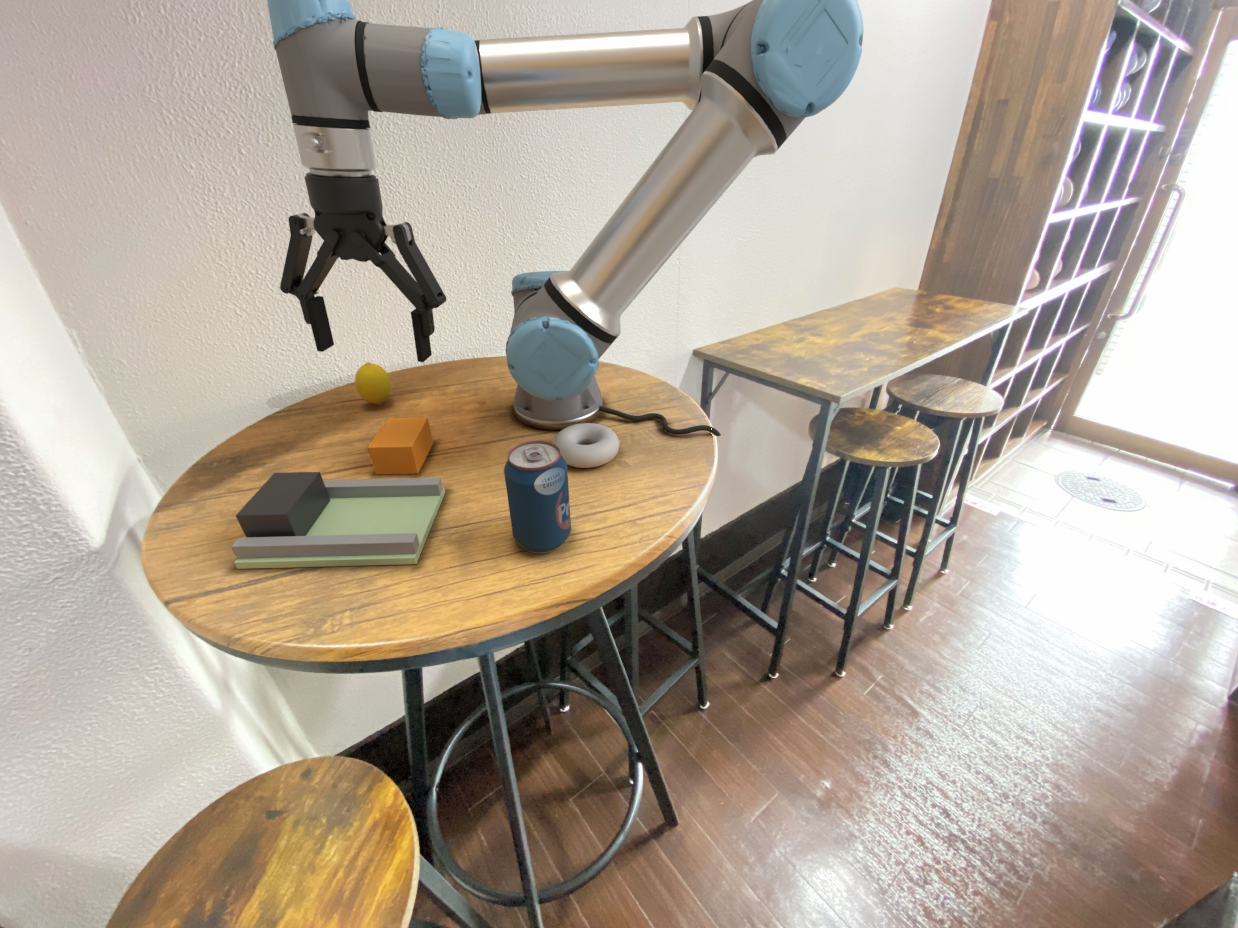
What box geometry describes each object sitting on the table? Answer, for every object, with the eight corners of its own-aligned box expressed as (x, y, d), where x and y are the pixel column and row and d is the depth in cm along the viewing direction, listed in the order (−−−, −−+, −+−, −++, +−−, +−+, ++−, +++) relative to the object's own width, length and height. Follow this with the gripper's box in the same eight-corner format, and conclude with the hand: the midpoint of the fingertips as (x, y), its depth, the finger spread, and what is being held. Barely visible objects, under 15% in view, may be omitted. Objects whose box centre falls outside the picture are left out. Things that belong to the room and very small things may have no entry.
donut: (540, 460, 79) (595, 479, 75) (537, 440, 77) (594, 458, 73) (579, 432, 86) (632, 448, 82) (577, 413, 84) (631, 428, 80)
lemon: (402, 402, 95) (391, 360, 91) (375, 415, 91) (363, 371, 87) (382, 395, 98) (371, 354, 93) (355, 407, 94) (342, 364, 89)
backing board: (445, 492, 72) (438, 457, 69) (416, 564, 61) (405, 526, 58) (295, 495, 72) (281, 461, 69) (237, 568, 60) (217, 531, 57)
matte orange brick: (433, 442, 83) (427, 417, 81) (418, 473, 76) (411, 446, 74) (394, 443, 83) (387, 418, 81) (375, 474, 76) (367, 447, 74)
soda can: (577, 551, 62) (572, 465, 56) (517, 562, 61) (505, 475, 54) (565, 515, 68) (559, 433, 61) (510, 525, 66) (498, 442, 60)
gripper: (209, 165, 57) (266, 353, 68) (436, 184, 56) (456, 373, 67) (257, 161, 63) (302, 334, 75) (461, 178, 62) (476, 352, 73)
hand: (375, 353), depth 71 cm, fingers open, 13 cm apart
